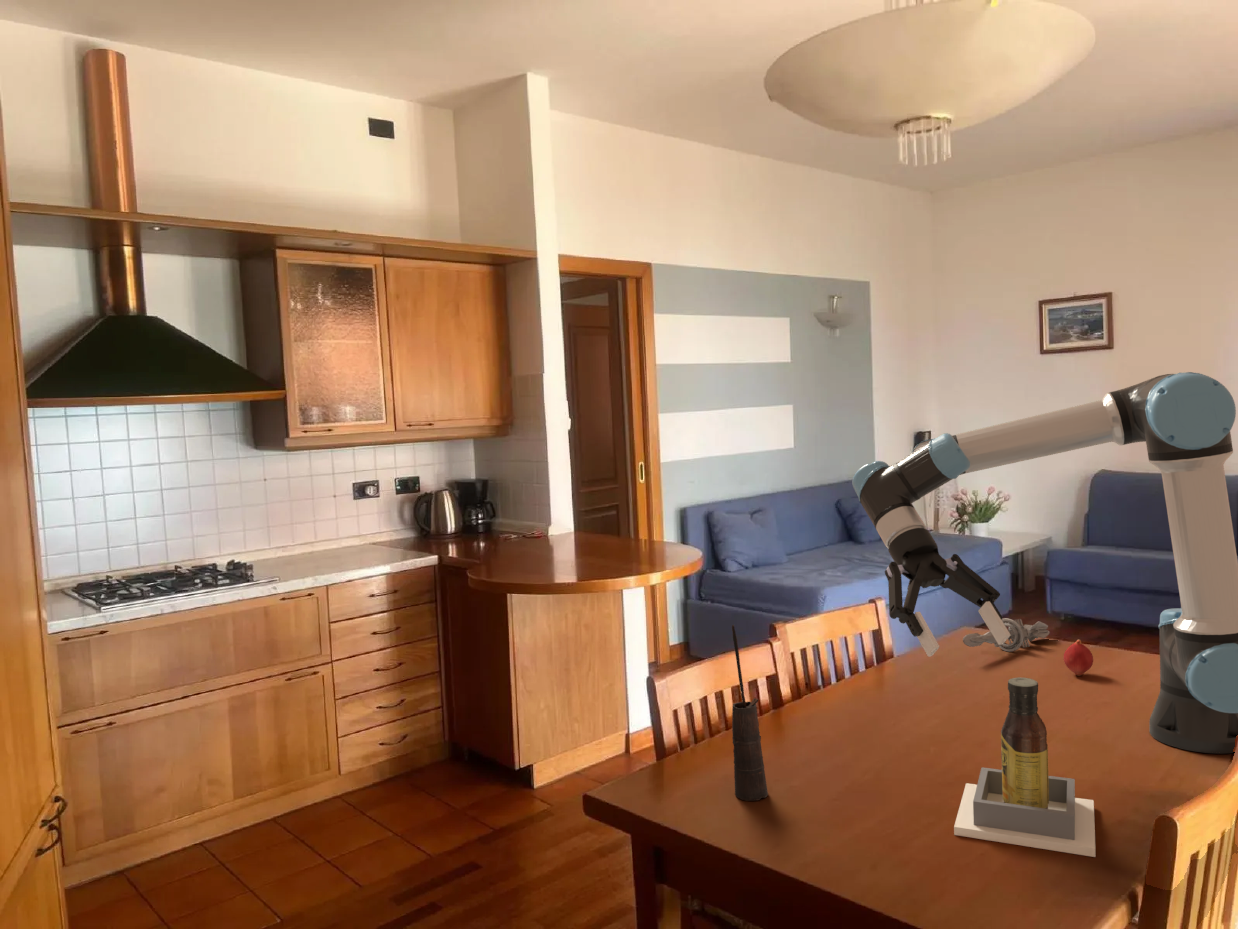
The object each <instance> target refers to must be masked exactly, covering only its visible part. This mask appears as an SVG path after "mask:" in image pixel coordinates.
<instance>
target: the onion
mask: <svg viewBox="0 0 1238 929" xmlns="http://www.w3.org/2000/svg"><path fill="white" fill-rule="evenodd" d="M1063 663H1064V665H1065V666H1066V668H1067V669H1068V670H1070V671H1071V672H1072V673H1074V674H1075V675H1076V676H1078V677H1080V676H1083V675H1084V674H1085V673H1086V672H1088V671H1089V670H1090V669H1091V668H1092V667H1093V663H1094V656H1093V653H1092V651H1091V649H1089V648H1088V647H1087V646H1086V645H1084V644H1083V643H1082V640H1081V639H1077V640H1076V641H1075V642H1073V643H1071V645H1068V647H1067V648H1066V650H1065V651H1064V653H1063Z"/></svg>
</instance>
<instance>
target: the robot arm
mask: <svg viewBox="0 0 1238 929" xmlns="http://www.w3.org/2000/svg"><path fill="white" fill-rule="evenodd" d="M1236 415H1237V410H1236V402H1235V400H1234V398H1233V396H1232V394H1231V392H1230V391H1229V389H1228V388H1227V387H1226V386H1225V385H1223V383H1221V382H1220V381H1218V380H1217V379H1215V378H1213V377H1211V376H1209V375H1206V374H1203V373H1200V372H1191V371H1187V372H1178V373H1167V374H1161V375H1158V376H1155V377H1153V378H1152V377H1151V378H1149V379H1147V380H1144V381H1142V382H1139V383H1137V384H1134V385H1130V386H1128V387H1125V388H1122V389H1118V390H1114V391H1109V392H1106V393H1105V394H1104V396H1103V397H1102V399H1100V400H1096V401H1092V402H1091V401H1090V402H1088V403H1083V404H1079V405H1074V406H1070V407H1067V408H1063V409H1058V410H1054V411H1050V412H1049V411H1048V412H1045V413H1041V414H1038V415H1037V414H1035V415H1032V416H1027V417H1024V418H1020V419H1015V420H1012V421H1008V422H1002V423H999V424H995V425H991V426H987V427H982V428H978V429H973V430H969V431H965V432H960V433H956V434H954V435H952V434H950V433H948V432H946V433H943V434H940V435H938V436H937V437H936V438H935V437H934V438H931V439H926V440H922V441H920V443H918V444H916V445H915V447H914V448H913V449H912V451H911V453H910V454H908V455H906V456H905V457H904V458H902V459H901V460H898V462H895V463H893V464H891V465H889V464H888V463H887V462H885V461H881V460H876V461H873V462H872V463H866V464H864V465H862V467H860V468H859V469H858V470H857V471H856V472H855V474H854V475H853V477H852V481H851V482H852V484H851V485H852V488H853V490H854V492H855V493H856V495H857V497H858V501H859V503H860V504H861V506H862V508H863V509H864V511H865V512H866V514H867V516H868V517H869V519H870V521H871V523H872V525H873V526H874V528H875V530H876V532H877V533H878V535H879V536H880V539H881V540H882V542H883V544H884V546H885V547H886V548H887V549H888V553H889V555H890V557H891V559H892V560H893V561H891V562H890V563H889V565H888V566H887V568H886V569H885V570H884V574H885V577H886V579H887V584H888V586H887V587H888V614H889V617H890V618H891V619H894V620H895V619H897V618H898V621H899V623H901V624H906V626H907V628H908V629H909V632H910V634H912V635H913V637H916V638H917V639H918V641H919V643H920V645H921V647H922V648H923V651H924V653H926V655H927V657H928V658H930V657H932V656H934V654H935V653H936V652H937V651H938V650H939V648H940V644H939V643H938V642H937V639H936V638H935V635H934V634H933V632H932V630H931V629H930V627H929V625H928V623H927V622H926V620H925V618H924V616H923V615H922V613H921V611H915V609H916V605H917V601H918V598H919V595H920V594H919V593H920V590H921V587H922V589H925V588H926V589H927V588H929V587H934V588H935V587H939V586H940V587H941V588H943V589H949V590H951V591H952V592H954V593H956V595H959V596H960V597H962V598H964V599H965V600H968V601H969V602H971V603H972V604H974V605H975V606H977V607H979V609H978V611H977V612H978V613H979V615H980V616H981V618H982V620H983V621H984V623H985V625H986V627H987V629H989V632H990V631H991V633H992V635H993V636H994V638H995V640H996V641H997V643H998V644H999V645H1001V644H1003V643H1006V642H1005V641H1007V640H1008V638H1009V637H1010V636H1011V635H1010V633H1009V631H1008V628H1007V626H1006V627H1005V625H1004V623H1003V622H1002V619H1003V615H1002V613H1000V611H999V609H998V608H997V606H996V604H995V602H996V601H997V599H998V598H1000V596H1001V593H1000V592H999V590H997V589H996V588H995V587H993V586H992V585H991V584H990V583H988V581H986V580H985V579H984V578H982V577H981V576H980V575H979V574H977V573H976V572H975V571H974V570H973V569H972V568H970V567H969V566H968V565H967V564H965V563H964V561H963V560H962V559H961V557H960V556H959V555H958V554H957V553H953V554H952V555H951V557H948V558H944V557H942V555H940V553H939V547H938V544H937V542H936V541H935V538H934V537H933V536H932V534H931V533H930V530H928V529H927V526H926V524H925V523H924V521H923V519H922V518H921V516H920V514H919V513H918V512H917V510H916V508H915V506H914V505H913V503H915V502H917V501H918V500H920V499H921V498H923V497H925V496H927V495H928V494H930V493H931V492H934V491H935V490H938V489H939V488H941V487H942V486H943V485H945V484H947V483H949V482H951V481H952V480H955V479H957V478H958V477H959V476H962V475H964V474H969V473H973V472H977V471H983V470H987V469H993V468H997V467H1002V466H1005V465H1011V464H1015V463H1019V462H1020V463H1021V462H1025V461H1029V460H1033V459H1037V458H1038V459H1039V458H1042V457H1047V456H1052V455H1057V454H1061V453H1066V452H1071V451H1075V450H1079V449H1084V448H1089V447H1093V446H1097V445H1098V446H1099V445H1103V444H1107V443H1114V444H1116V445H1119V446H1125V445H1128V444H1134V443H1135V444H1136V443H1144V442H1145V445H1146V451H1147V457H1148V462H1149V464H1151V465H1154V466H1155V467H1156V468H1158V469H1159V470H1160V473H1161V479H1162V485H1163V492H1164V499H1165V505H1166V512H1167V520H1168V525H1169V526H1168V527H1169V533H1170V538H1171V539H1170V540H1171V547H1172V552H1173V559H1174V567H1175V574H1176V579H1177V587H1178V592H1179V600H1180V608H1174V607H1173V608H1168V609H1164V610H1162V612H1160V615H1159V624H1158V629H1159V679H1160V682H1159V684H1160V685H1159V686H1160V687H1159V688H1160V690H1159V694H1158V696H1157V698H1156V701H1155V705H1154V707H1153V708H1152V709H1153V710H1152V712H1151V715H1150V717H1149V721H1148V722H1149V724H1148V725H1149V734H1150V736H1151V737H1152V738H1154V739H1155V740H1156V741H1158V742H1160V743H1163V744H1165V745H1168V746H1170V747H1174V748H1176V749H1177V748H1178V749H1180V750H1185V751H1189V752H1196V753H1197V752H1198V753H1204V754H1218V755H1219V754H1220V755H1221V754H1223V755H1225V754H1234V753H1233V749H1234V747H1235V739H1236V736H1237V735H1238V556H1237V555H1238V554H1237V548H1236V542H1235V535H1234V533H1235V532H1234V527H1233V521H1232V516H1231V515H1232V514H1231V508H1230V501H1229V493H1228V488H1227V487H1228V486H1227V479H1226V474H1225V468H1224V465H1225V462H1226V461H1227V460H1228V458H1230V457H1231V456H1232V454H1234V449H1233V443H1232V442H1233V441H1232V434H1231V430H1232V428H1233V426H1234V423H1235V420H1236ZM902 576H903V577H905V578H906V579H908V580H909V582H908V586H907V589H906V590H907V593H906V595H905V599H904V603H903V584H902ZM946 576H948V577H947V578H946Z"/></svg>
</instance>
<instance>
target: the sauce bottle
mask: <svg viewBox="0 0 1238 929" xmlns="http://www.w3.org/2000/svg"><path fill="white" fill-rule="evenodd" d="M1007 690H1008V693H1009V694H1008V695H1009V696H1008V697H1009V704H1008V712H1007V714H1006V717H1005V719H1004V722H1003V725H1002V728H1001V730H1000V746H1001V750H1000V751H1001V756H1000V757H1001V770H1002V792H1003V800H1004V803H1009V804H1017V805H1024V806H1031V807H1038V808H1045V809H1048V804H1049V780H1048V776H1049V753H1048V752H1049V749H1048V748H1049V747H1048V741H1047V740H1048V739H1047V735H1048V732H1047V727H1046V724H1045V723H1044V721H1043V719H1042V718H1041V716H1040V715H1039V713H1038V710H1039V707H1038V693H1039V682H1038V681H1037V680H1035V679H1033V678H1029V677H1028V678H1027V677H1020V676H1018V677H1013V678H1010V679H1008V680H1007Z"/></svg>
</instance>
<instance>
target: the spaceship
mask: <svg viewBox="0 0 1238 929" xmlns="http://www.w3.org/2000/svg"><path fill="white" fill-rule="evenodd" d="M1002 622H1003V623H1004V625H1005V627H1006V628H1007V627H1008V628H1007V630H1008V631H1009V633H1010V635H1011V636H1010V637H1009V638H1008V639H1007V640H1008V643H1006V641H1007V640H1006V641H1005V642H1004V643H1003V644H1001V645H999V644H998V643H997V641H996V640H995V638H994V636H993V635H992V633H991V631H990V630H989V631H987V632H986V633H984V634H980V633H978V632H975V633H968V634H965V636H963V638H962V643H963V644H964V645H965V646H967V647H970V648H971V647H972V648H974V647H979V646H982V645H983V643H988V644H991V645H992V644H994V647H995V648H1000V649H1001V650H1002V651H1005V652H1008V653H1009V652H1010V653H1011V652H1016V651H1017V650H1019V649H1020V648H1021V647H1022V648H1027V647H1030V642H1032V641H1034V640H1036V639H1038V638H1042V639H1045V638H1046V637H1048V636H1049V635H1050V633H1051V632H1050V630H1048V628H1049V625H1048V624H1047V623H1044V622H1042V621H1039V620H1038V621H1036V623H1034V624H1033V625H1032V624H1023V620H1022V619H1021V618H1018V619H1017V618H1016V619H1011V618H1005V617H1004V618H1002ZM1035 638H1036V639H1035Z"/></svg>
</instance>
